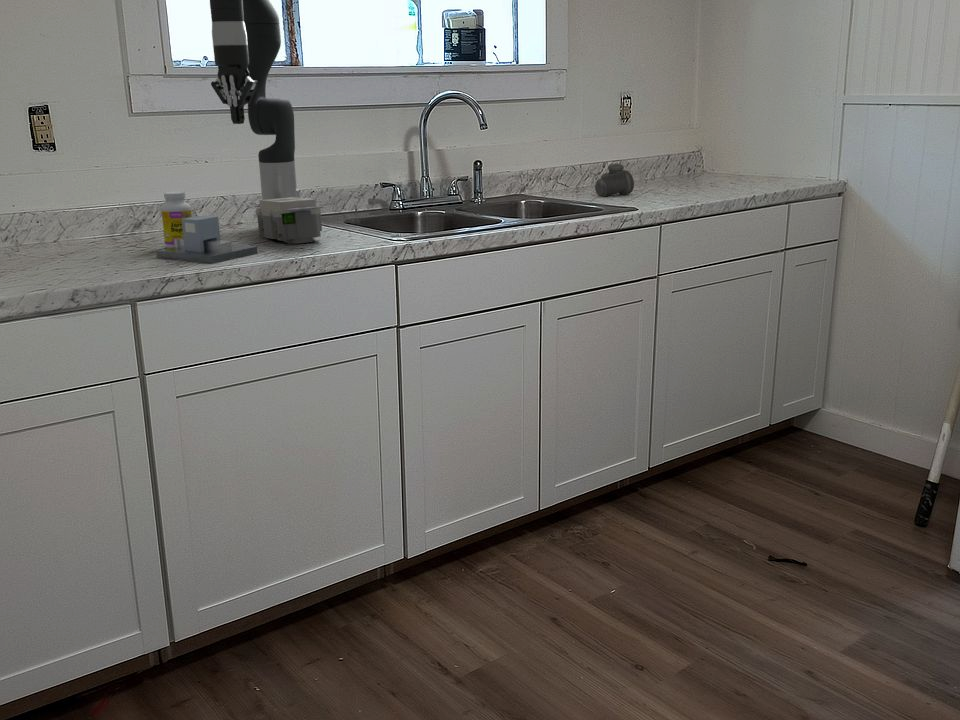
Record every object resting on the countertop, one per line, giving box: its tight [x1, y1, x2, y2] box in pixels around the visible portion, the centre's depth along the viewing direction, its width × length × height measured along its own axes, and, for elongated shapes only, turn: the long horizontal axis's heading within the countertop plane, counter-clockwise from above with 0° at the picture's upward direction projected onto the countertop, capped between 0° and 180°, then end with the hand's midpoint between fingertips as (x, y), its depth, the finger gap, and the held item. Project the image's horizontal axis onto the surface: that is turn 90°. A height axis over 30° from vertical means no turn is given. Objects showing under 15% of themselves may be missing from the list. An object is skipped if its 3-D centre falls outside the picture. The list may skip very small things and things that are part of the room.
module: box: [182, 215, 221, 252], centre depth 205 cm, size 6×5×7 cm
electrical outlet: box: [253, 197, 324, 245], centre depth 226 cm, size 12×28×10 cm, turn 30°
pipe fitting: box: [594, 163, 635, 198], centre depth 301 cm, size 12×8×10 cm
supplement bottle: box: [160, 191, 193, 249], centre depth 217 cm, size 7×7×13 cm
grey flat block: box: [155, 237, 258, 264], centre depth 207 cm, size 14×17×4 cm
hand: (238, 123), depth 210 cm, fingers closed
